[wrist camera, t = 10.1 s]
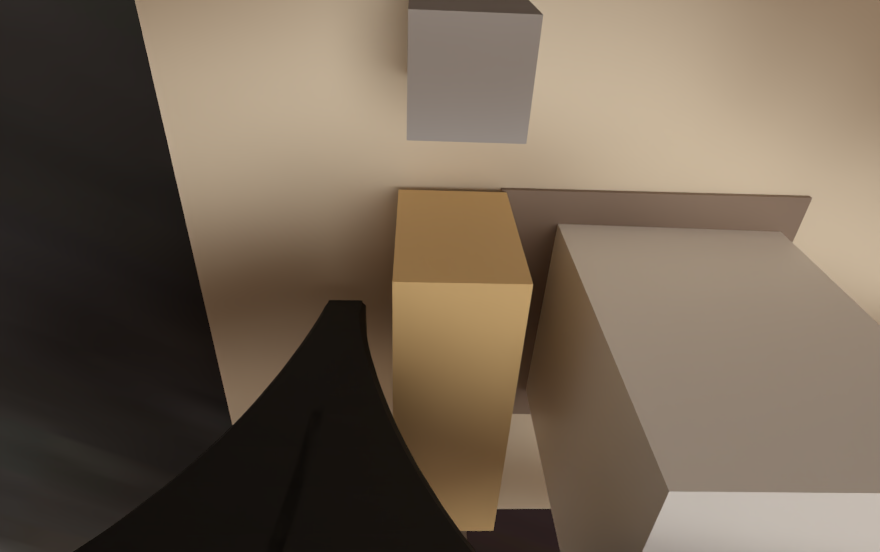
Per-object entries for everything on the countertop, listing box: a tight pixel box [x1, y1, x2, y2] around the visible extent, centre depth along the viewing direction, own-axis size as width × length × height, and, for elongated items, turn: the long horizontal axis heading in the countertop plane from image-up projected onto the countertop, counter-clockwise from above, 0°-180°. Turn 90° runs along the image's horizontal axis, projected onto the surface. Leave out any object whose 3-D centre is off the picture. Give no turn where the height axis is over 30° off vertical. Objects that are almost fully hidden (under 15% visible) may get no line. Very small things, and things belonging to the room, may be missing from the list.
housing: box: [526, 224, 880, 552], centre depth 10 cm, size 4×4×7 cm
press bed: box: [135, 0, 880, 539], centre depth 12 cm, size 14×16×4 cm
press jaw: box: [392, 190, 533, 531], centre depth 11 cm, size 6×2×3 cm, turn 178°
